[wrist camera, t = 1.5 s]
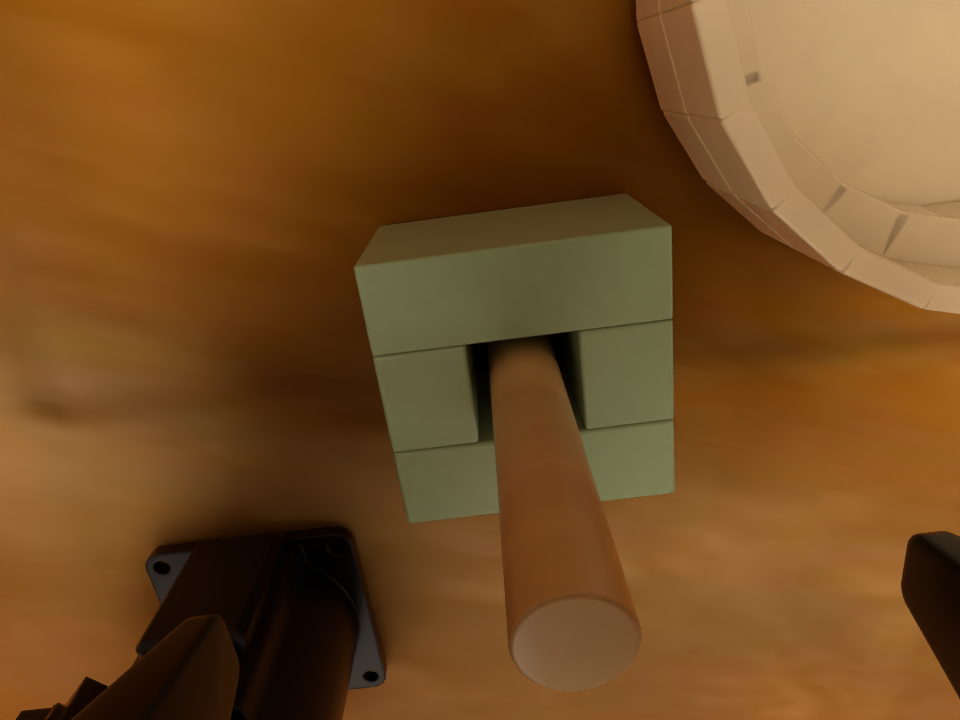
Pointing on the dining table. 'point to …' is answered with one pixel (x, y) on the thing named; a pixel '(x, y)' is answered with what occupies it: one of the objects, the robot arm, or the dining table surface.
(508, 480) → the stick
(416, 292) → the stand
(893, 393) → the dining table surface
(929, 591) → the robot arm
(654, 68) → the bowl
